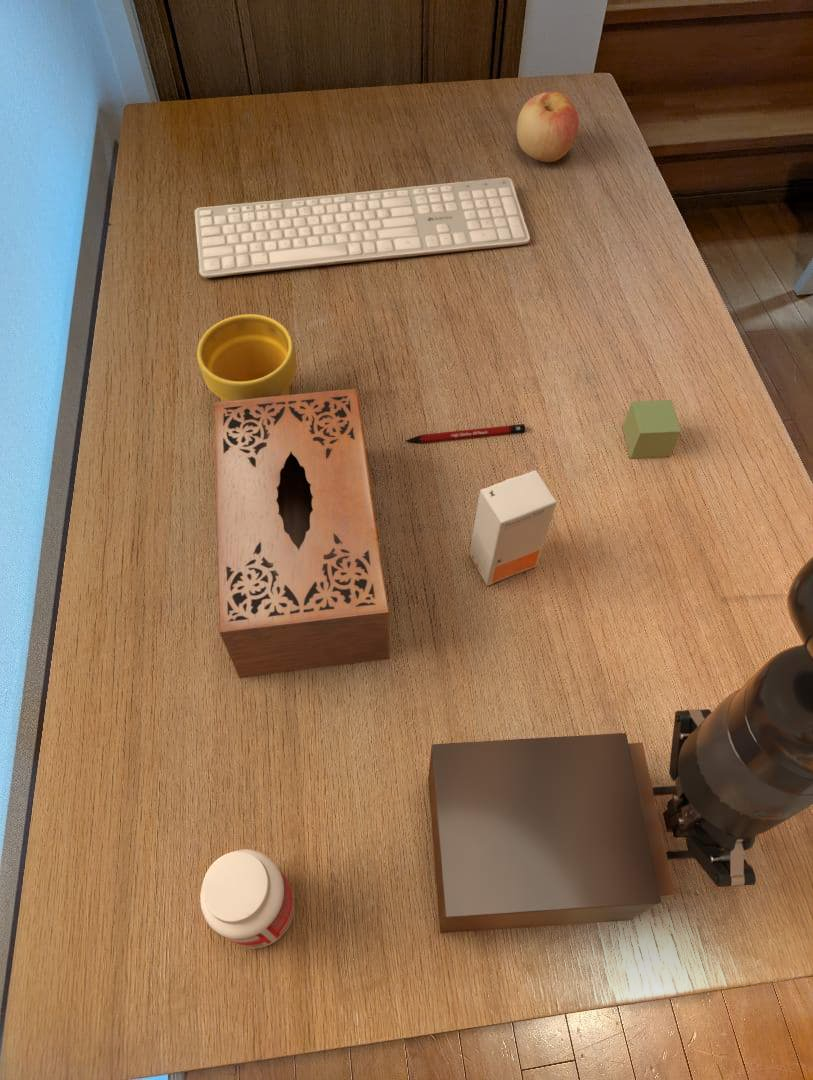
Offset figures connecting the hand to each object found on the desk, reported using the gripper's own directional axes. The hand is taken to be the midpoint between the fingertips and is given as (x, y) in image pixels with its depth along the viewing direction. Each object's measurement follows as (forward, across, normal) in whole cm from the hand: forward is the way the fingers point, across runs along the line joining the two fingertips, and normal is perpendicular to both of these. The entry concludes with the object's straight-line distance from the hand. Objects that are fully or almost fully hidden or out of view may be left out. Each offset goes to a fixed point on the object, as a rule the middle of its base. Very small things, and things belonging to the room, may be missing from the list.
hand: (676, 822), depth 66 cm
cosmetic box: (+6, +28, +10) cm, 30 cm away
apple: (+6, +97, -5) cm, 98 cm away
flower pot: (+6, +50, +36) cm, 62 cm away
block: (+6, +43, -8) cm, 44 cm away
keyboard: (+6, +81, +23) cm, 84 cm away
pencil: (+6, +45, +12) cm, 47 cm away
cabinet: (+6, 0, +12) cm, 13 cm away
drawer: (+5, 0, +7) cm, 9 cm away
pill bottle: (+6, -4, +34) cm, 35 cm away
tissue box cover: (+6, +30, +30) cm, 43 cm away
